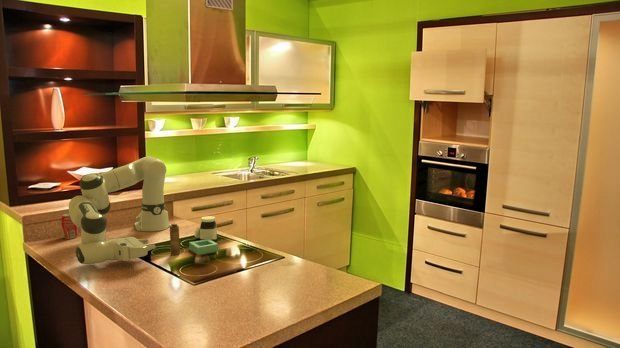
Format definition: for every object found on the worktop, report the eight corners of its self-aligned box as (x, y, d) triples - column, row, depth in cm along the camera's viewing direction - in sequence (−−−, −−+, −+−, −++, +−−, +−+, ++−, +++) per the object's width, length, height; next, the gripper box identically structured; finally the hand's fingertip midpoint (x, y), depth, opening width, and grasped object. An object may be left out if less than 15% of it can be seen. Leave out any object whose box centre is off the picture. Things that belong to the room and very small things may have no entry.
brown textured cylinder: (169, 253, 224) (168, 224, 222) (177, 252, 227) (176, 222, 225) (172, 256, 221) (171, 226, 219) (181, 254, 223) (180, 224, 221)
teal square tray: (189, 249, 231) (189, 242, 230) (209, 246, 237) (209, 239, 236) (198, 255, 223) (197, 247, 222) (218, 251, 229) (218, 244, 228)
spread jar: (214, 243, 241) (213, 220, 239) (191, 243, 241) (190, 220, 240) (219, 236, 253) (218, 214, 251) (197, 236, 253) (196, 214, 252)
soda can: (70, 235, 254) (68, 212, 252) (81, 236, 251) (79, 213, 249) (59, 238, 247) (57, 215, 245) (70, 240, 245) (68, 216, 243)
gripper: (112, 249, 217) (144, 244, 225) (125, 262, 201) (159, 256, 209) (112, 236, 216) (143, 231, 224) (125, 247, 200) (158, 242, 208)
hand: (151, 243), depth 216 cm, fingers open, 8 cm apart
